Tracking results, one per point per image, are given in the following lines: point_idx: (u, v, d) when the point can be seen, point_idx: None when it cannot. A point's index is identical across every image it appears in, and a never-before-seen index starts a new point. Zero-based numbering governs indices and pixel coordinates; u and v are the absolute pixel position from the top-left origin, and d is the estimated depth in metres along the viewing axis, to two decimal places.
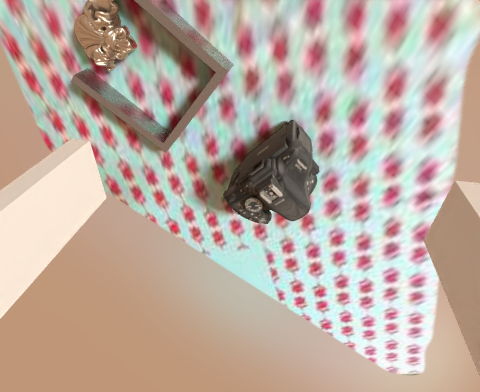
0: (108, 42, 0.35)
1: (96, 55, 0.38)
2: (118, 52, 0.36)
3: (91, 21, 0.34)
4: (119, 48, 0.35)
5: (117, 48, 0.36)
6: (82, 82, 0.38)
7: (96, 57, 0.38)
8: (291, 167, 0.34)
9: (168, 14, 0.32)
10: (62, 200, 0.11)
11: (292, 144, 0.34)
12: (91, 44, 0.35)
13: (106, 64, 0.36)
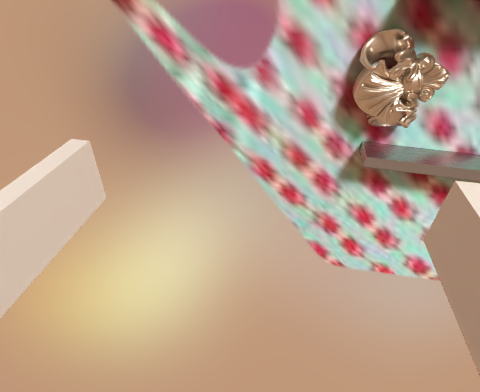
0: (414, 85, 0.23)
1: None
2: (426, 92, 0.24)
3: (384, 74, 0.23)
4: (427, 85, 0.24)
5: None
6: (380, 160, 0.27)
7: (378, 120, 0.27)
8: None
9: None
10: (62, 200, 0.11)
11: None
12: (386, 104, 0.25)
13: (413, 118, 0.25)
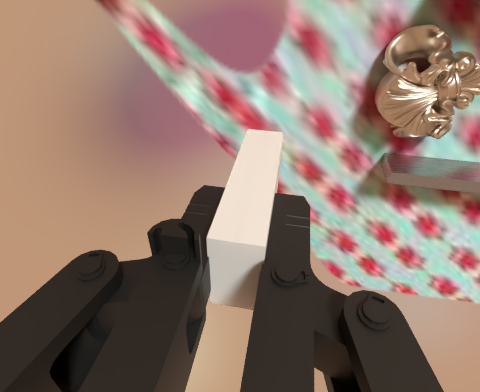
0: (451, 91, 0.20)
1: None
2: (464, 98, 0.20)
3: (415, 79, 0.20)
4: (466, 90, 0.20)
5: None
6: (407, 176, 0.23)
7: (404, 131, 0.24)
8: None
9: None
10: None
11: None
12: (416, 114, 0.21)
13: (448, 128, 0.21)
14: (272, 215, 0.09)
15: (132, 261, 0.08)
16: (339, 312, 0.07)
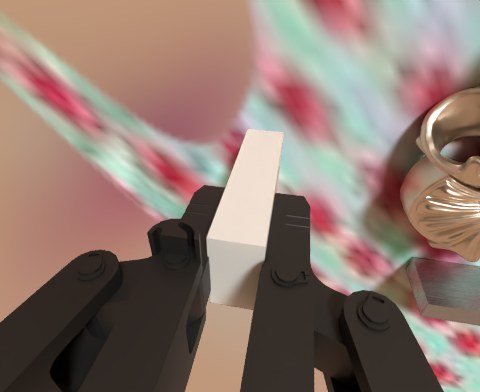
0: None
1: None
2: None
3: (479, 182, 0.11)
4: None
5: None
6: (453, 310, 0.15)
7: None
8: None
9: None
10: None
11: None
12: (474, 231, 0.12)
13: None
14: (272, 215, 0.09)
15: (132, 261, 0.08)
16: (339, 312, 0.07)
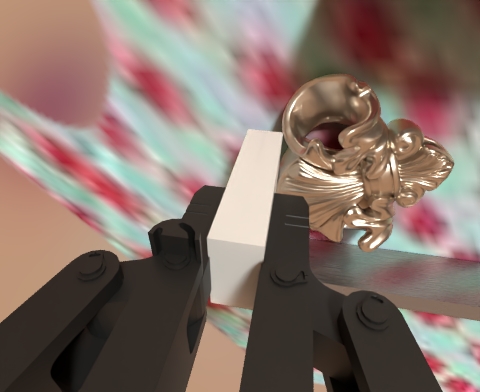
0: (385, 186, 0.12)
1: None
2: (408, 192, 0.12)
3: (324, 164, 0.12)
4: (411, 182, 0.12)
5: None
6: None
7: None
8: None
9: None
10: None
11: None
12: (334, 212, 0.13)
13: (386, 235, 0.13)
14: (271, 215, 0.09)
15: (133, 261, 0.08)
16: (338, 312, 0.07)
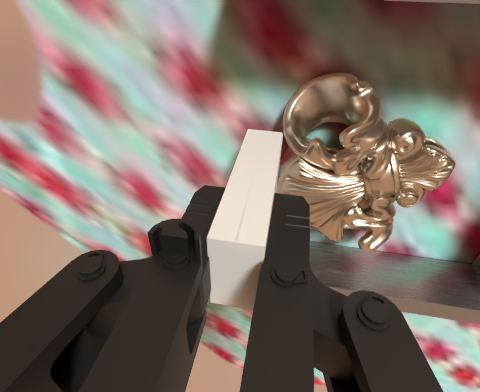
0: (385, 186, 0.12)
1: None
2: (409, 193, 0.12)
3: (324, 164, 0.12)
4: (411, 182, 0.12)
5: None
6: None
7: None
8: None
9: None
10: None
11: None
12: (334, 212, 0.13)
13: (386, 236, 0.13)
14: (272, 215, 0.09)
15: (132, 261, 0.08)
16: (338, 312, 0.07)
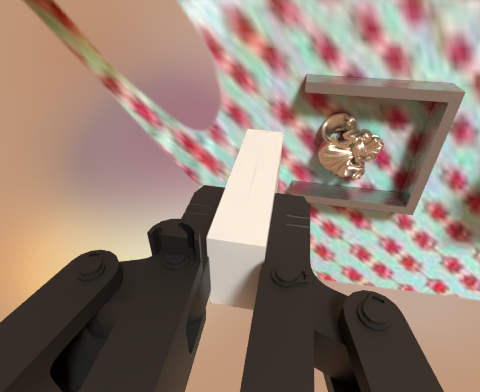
0: (359, 152, 0.33)
1: None
2: (369, 156, 0.34)
3: (337, 145, 0.33)
4: (369, 151, 0.33)
5: (365, 152, 0.34)
6: (301, 195, 0.37)
7: None
8: None
9: (366, 83, 0.30)
10: None
11: None
12: (341, 164, 0.34)
13: (361, 173, 0.34)
14: (272, 215, 0.09)
15: (132, 261, 0.08)
16: (339, 312, 0.07)
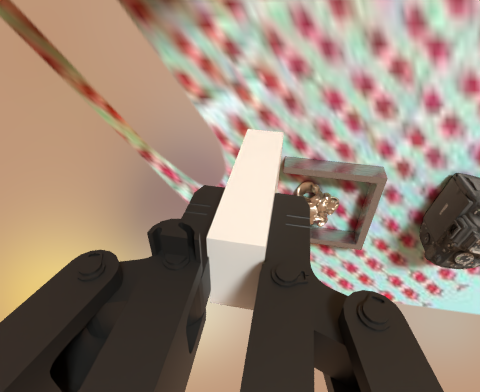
0: (322, 209, 0.47)
1: None
2: (329, 211, 0.48)
3: None
4: (329, 208, 0.48)
5: (327, 208, 0.48)
6: None
7: None
8: None
9: (324, 167, 0.44)
10: None
11: (476, 198, 0.38)
12: (310, 216, 0.49)
13: (325, 222, 0.49)
14: (272, 215, 0.09)
15: (132, 261, 0.08)
16: (339, 312, 0.07)
